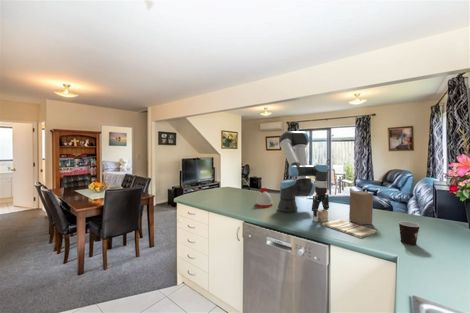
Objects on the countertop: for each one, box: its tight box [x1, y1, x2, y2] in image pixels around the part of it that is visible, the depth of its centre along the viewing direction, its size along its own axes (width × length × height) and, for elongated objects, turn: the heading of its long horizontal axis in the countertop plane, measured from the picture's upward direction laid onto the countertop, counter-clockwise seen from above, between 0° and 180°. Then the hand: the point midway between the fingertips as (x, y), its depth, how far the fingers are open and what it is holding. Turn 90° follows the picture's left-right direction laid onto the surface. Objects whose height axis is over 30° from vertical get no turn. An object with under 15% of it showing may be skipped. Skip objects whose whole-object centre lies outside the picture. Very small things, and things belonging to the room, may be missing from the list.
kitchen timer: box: [255, 187, 273, 208], centre depth 198 cm, size 14×14×15 cm
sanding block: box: [312, 208, 329, 223], centre depth 158 cm, size 8×5×7 cm, turn 34°
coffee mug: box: [398, 220, 420, 247], centre depth 121 cm, size 12×9×10 cm
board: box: [321, 218, 377, 239], centre depth 142 cm, size 25×16×1 cm, turn 34°
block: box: [348, 190, 374, 226], centre depth 154 cm, size 10×10×20 cm
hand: (320, 220), depth 158 cm, fingers open, 8 cm apart
